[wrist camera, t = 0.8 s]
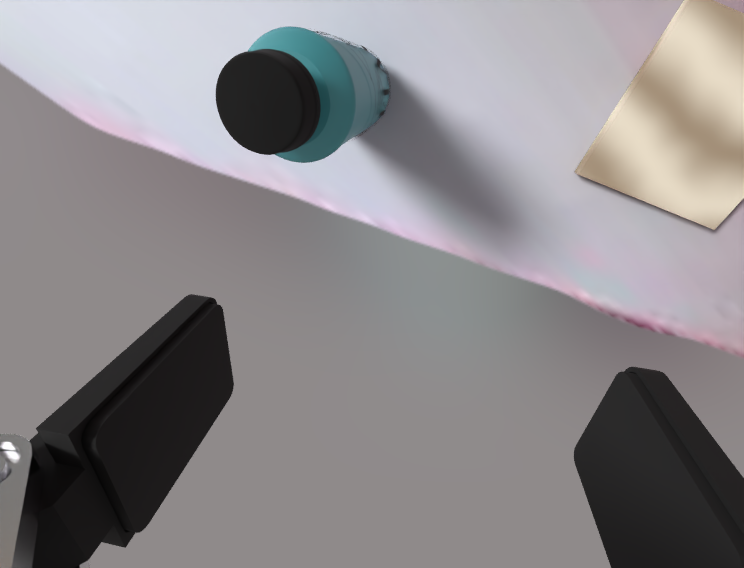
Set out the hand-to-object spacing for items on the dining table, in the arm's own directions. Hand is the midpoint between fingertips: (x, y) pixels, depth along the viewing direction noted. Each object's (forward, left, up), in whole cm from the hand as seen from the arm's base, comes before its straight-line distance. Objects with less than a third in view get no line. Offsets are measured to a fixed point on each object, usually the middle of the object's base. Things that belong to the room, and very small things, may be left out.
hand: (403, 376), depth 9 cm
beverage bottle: (-3, -8, -29) cm, 30 cm away
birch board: (-10, +19, -29) cm, 36 cm away
